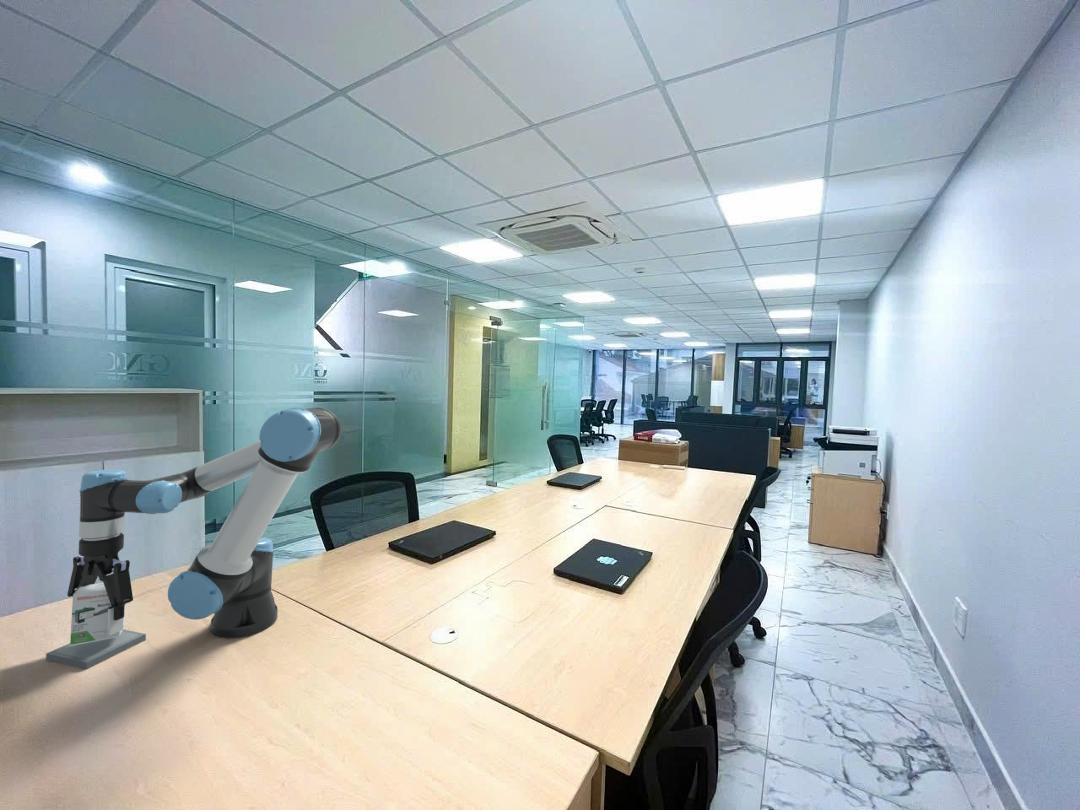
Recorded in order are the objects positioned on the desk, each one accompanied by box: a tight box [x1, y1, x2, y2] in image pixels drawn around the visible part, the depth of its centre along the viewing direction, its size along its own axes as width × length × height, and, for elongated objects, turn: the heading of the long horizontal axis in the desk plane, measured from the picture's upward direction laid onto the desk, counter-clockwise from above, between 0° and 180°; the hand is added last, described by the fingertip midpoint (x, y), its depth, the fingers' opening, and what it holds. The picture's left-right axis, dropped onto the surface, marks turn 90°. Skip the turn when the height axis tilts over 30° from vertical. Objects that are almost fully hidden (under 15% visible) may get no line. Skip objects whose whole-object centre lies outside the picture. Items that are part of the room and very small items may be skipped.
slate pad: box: [45, 628, 147, 670], centre depth 103 cm, size 12×12×2 cm
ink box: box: [69, 582, 127, 645], centre depth 102 cm, size 9×5×12 cm, turn 123°
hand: (99, 629), depth 103 cm, fingers closed on ink box, 9 cm apart
